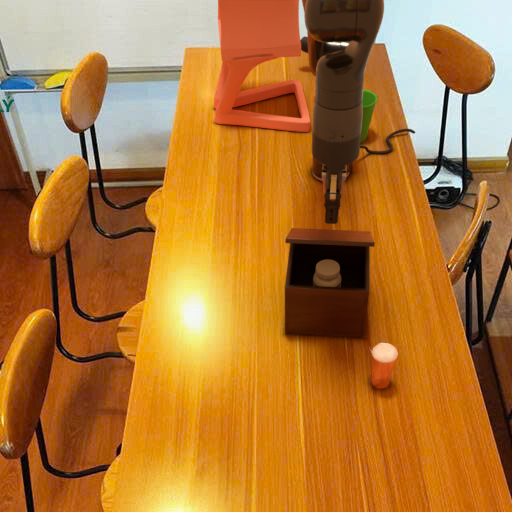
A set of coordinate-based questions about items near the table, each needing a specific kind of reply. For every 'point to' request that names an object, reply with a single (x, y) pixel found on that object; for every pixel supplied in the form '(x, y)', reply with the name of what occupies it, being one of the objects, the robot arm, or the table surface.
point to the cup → (367, 111)
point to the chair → (257, 60)
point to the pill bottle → (327, 274)
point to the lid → (330, 237)
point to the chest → (327, 292)
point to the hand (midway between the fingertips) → (331, 221)
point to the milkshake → (383, 364)
